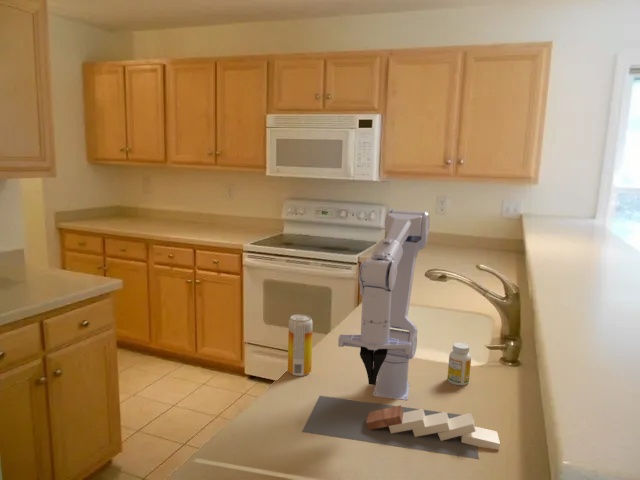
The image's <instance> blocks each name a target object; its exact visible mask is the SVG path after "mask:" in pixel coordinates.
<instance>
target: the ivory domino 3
mask: <svg viewBox="0 0 640 480" xmlns="http://www.w3.org/2000/svg"><path fill="white" fill-rule="evenodd" d="M460 415H461V416H457V417H454V418H450V419H449V427H450V430H448V431H443V432H438V435H439V438H440V440H441V441H442V440H446V439H450V438H453V437H457V436H461V435H465V434H468V433H472V432H476V431H475V427H476V426H475V425H476V424H475V420H474V417H473V414H472V413H471V412H469V413H465V414H460Z"/></svg>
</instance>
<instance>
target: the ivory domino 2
mask: <svg viewBox="0 0 640 480" xmlns="http://www.w3.org/2000/svg"><path fill="white" fill-rule="evenodd" d="M441 412H442V413H437V414H432V415H427V416H425V427H423V428H418V429H412V430H413V433H414V436H415V437H417V436H423V435H428V434H433V433H438V432H443V431H448V430H450V427H449V418H448V414H447V413H448V412H447V411H441Z"/></svg>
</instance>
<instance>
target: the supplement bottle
mask: <svg viewBox="0 0 640 480" xmlns="http://www.w3.org/2000/svg"><path fill="white" fill-rule="evenodd" d="M469 352H470V345H468V343H464V342H454V343H453V344H452V351H450V352H449V355H448V364H447V365H448V366H447V381H448V382H449V383H450V384H453V385H455V386H466V385H468V384H469V382H470V374H471V364H472V356H471V354H470V353H469Z"/></svg>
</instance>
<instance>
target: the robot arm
mask: <svg viewBox="0 0 640 480" xmlns="http://www.w3.org/2000/svg"><path fill="white" fill-rule="evenodd" d="M384 218H385V219H384V230H385V233H386V237H385V238H383V239H381V240H380V241H378V243H377V244H376V247H375V249H374V250H373V252H372V254H371V256H370V257H369V258H367V259H366V260H363V261H362V262H361V264H360V266H359V272H358V282H359V283H358V284H359V289H360V290H359V294H360V295H359V296H361V297H362V299H361V320H360V321H361V323H360V334H340V335H339V336H338V339H337V340H338V341H337V342H338V344H337V345H338V347H340V348H343V347H351V348H360V350H359V351H360V352H359V356H360V359H361V361H362V362H363V366H364V368H365V370H366V376H367V379H368V385H372V386H374V391H373V393H372V395H373V396H374V397H379V398H387V399H395V400H400V401H401V400H402V401H408V400H409V391H410V382H409V381H408V380H409V379H408V378H409V363H410V360H413V358H415V356H416V352H417V347H418V329H417V325H416V324H415V323H413V321H412V320H411V319H410V318H409V317H408V316H409V309H410V302H411V296H412V288H413V281H414V274H415V267H416V261H417V257H418V254H419V252H420V251H421V250H424V249H425V248H426V247H427V243H428V240H429V233H430V223H431V218H430V214H429V212H428V211H427V210H426V211H425V210H424V211H418V210H416V211H415V210H402V209H401V210H400V209H393V208H390V209H389V210H387V212H386V214H385V217H384Z"/></svg>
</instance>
